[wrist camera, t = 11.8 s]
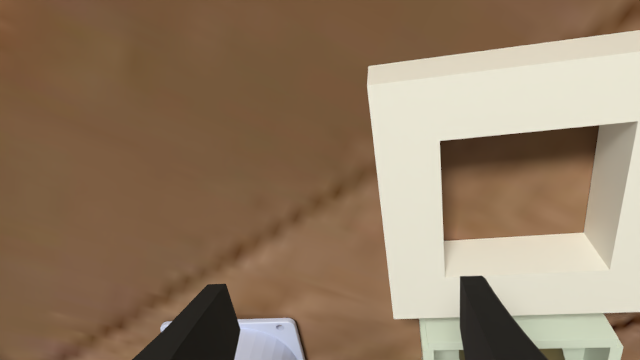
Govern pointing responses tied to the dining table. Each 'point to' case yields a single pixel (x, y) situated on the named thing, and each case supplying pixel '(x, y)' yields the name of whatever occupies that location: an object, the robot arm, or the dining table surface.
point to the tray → (532, 336)
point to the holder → (499, 119)
